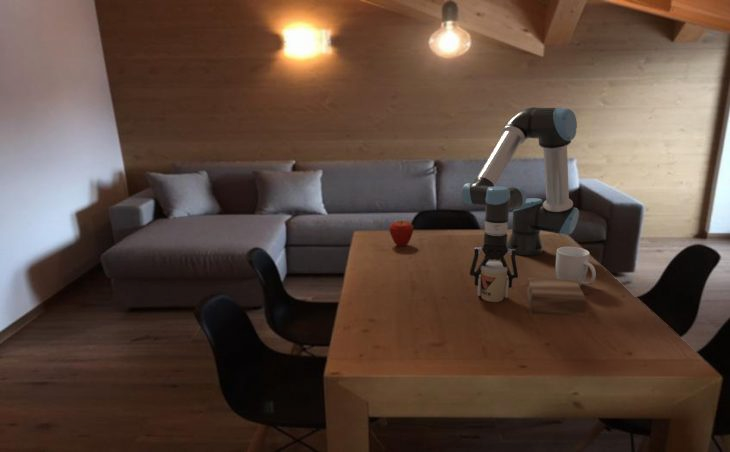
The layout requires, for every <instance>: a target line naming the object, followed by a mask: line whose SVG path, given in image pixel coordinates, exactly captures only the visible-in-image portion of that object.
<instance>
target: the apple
mask: <svg viewBox="0 0 730 452" xmlns="http://www.w3.org/2000/svg"><path fill="white" fill-rule="evenodd" d="M389 233H390V236H391V239H392V240H393V242H394V244H395V245H396V246H398V247H406V246H407V245H408V244H409V242H410V241H411V239H412V236H413V233H414V225H413V224H412V223H411V222H409V221H406V220H398V221H397V220H396V221H394V222H392V223H391V224H390V225H389Z"/></svg>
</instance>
